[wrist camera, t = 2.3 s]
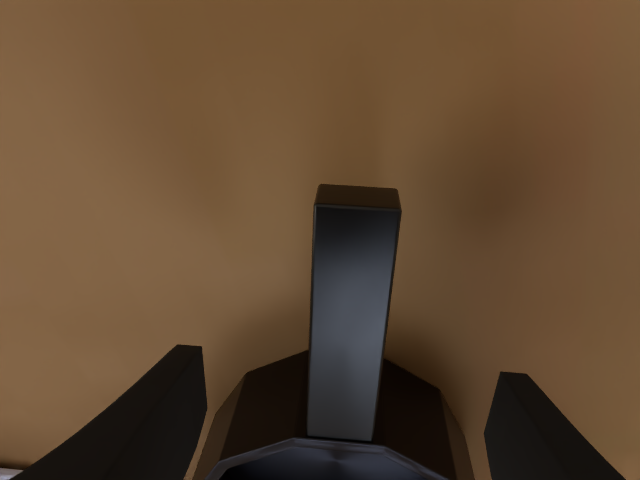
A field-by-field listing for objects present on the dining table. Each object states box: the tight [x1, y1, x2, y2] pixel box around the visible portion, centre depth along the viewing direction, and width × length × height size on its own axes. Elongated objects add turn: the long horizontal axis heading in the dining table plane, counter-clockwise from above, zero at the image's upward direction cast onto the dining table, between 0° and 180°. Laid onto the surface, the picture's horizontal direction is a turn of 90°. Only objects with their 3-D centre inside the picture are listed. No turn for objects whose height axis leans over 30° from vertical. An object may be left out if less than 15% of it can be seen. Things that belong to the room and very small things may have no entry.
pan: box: [192, 184, 475, 480], centre depth 16 cm, size 17×10×4 cm, turn 178°
